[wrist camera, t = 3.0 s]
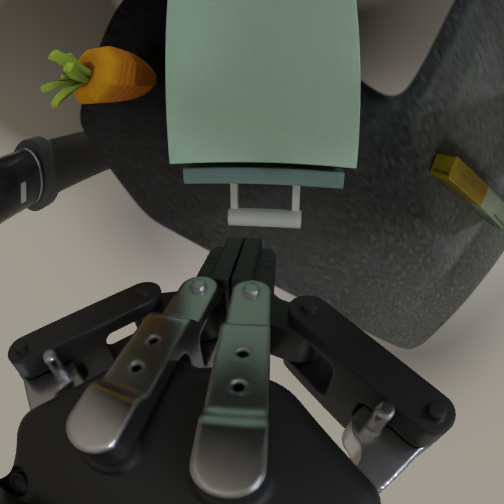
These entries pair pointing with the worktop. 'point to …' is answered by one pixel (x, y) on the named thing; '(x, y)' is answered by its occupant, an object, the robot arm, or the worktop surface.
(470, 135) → the worktop surface
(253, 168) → the green drawer
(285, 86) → the green drawer housing
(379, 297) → the worktop surface
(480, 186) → the medication box
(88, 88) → the carrot
